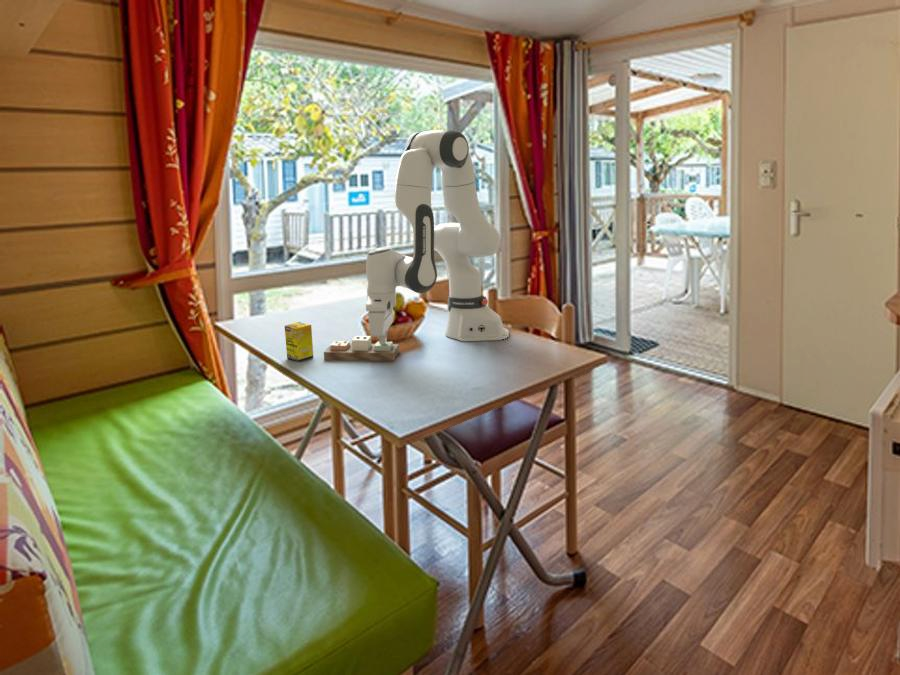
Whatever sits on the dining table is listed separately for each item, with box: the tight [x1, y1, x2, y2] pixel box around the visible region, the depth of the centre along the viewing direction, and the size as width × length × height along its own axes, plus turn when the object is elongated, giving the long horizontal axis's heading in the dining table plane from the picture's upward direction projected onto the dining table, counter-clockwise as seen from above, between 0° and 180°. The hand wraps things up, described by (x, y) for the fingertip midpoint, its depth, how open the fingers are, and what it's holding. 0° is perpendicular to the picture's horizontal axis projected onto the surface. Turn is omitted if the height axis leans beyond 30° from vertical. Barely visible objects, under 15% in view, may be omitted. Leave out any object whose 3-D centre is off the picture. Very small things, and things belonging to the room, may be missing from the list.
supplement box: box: [284, 321, 314, 363], centre depth 196 cm, size 6×6×11 cm
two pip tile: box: [351, 335, 372, 351], centre depth 199 cm, size 5×5×4 cm
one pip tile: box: [374, 341, 394, 351], centre depth 198 cm, size 5×5×4 cm
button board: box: [323, 342, 400, 362], centre depth 199 cm, size 22×10×2 cm, turn 85°
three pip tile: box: [329, 340, 351, 350], centre depth 200 cm, size 5×5×4 cm
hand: (383, 343), depth 197 cm, fingers closed, pressing on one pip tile
